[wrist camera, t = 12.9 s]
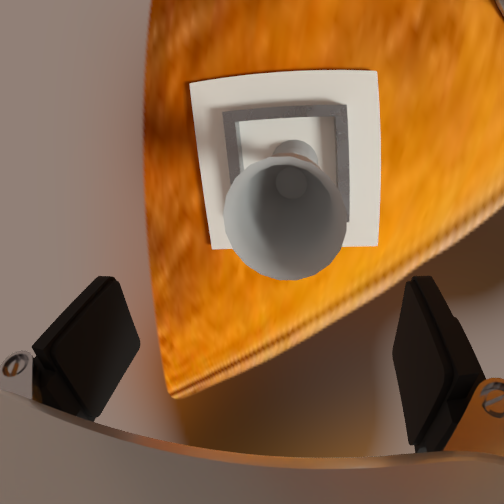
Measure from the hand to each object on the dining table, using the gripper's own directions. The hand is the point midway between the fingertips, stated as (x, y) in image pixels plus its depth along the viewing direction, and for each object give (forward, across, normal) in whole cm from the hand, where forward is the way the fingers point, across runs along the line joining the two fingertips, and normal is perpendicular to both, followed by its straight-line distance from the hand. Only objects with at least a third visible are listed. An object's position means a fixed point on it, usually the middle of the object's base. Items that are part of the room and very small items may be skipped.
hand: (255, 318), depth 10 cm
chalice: (+27, 0, 0) cm, 27 cm away
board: (+28, 0, 0) cm, 28 cm away
